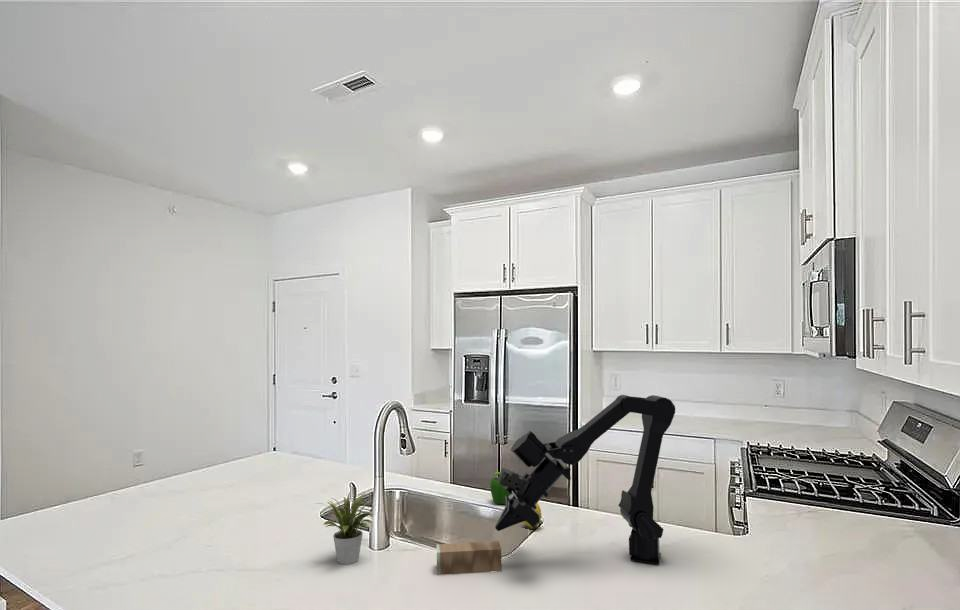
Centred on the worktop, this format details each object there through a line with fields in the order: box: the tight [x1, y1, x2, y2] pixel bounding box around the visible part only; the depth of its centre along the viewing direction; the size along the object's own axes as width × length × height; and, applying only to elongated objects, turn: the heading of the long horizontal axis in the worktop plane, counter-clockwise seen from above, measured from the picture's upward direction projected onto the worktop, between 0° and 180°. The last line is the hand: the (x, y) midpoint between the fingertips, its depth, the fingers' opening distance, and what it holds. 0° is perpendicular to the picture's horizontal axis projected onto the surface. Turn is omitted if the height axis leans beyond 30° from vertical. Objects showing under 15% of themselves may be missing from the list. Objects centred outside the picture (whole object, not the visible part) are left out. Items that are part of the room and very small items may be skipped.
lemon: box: [523, 503, 542, 530], centre depth 147 cm, size 6×6×8 cm
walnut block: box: [436, 540, 503, 576], centre depth 122 cm, size 5×5×15 cm
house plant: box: [314, 491, 375, 565], centre depth 127 cm, size 14×14×16 cm
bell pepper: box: [490, 471, 510, 506], centre depth 170 cm, size 8×8×10 cm
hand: (496, 529), depth 123 cm, fingers closed
